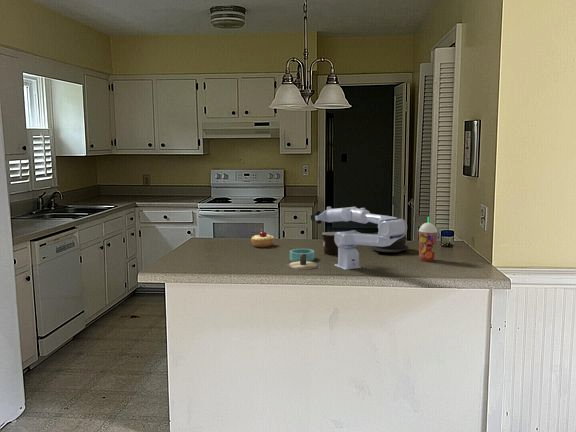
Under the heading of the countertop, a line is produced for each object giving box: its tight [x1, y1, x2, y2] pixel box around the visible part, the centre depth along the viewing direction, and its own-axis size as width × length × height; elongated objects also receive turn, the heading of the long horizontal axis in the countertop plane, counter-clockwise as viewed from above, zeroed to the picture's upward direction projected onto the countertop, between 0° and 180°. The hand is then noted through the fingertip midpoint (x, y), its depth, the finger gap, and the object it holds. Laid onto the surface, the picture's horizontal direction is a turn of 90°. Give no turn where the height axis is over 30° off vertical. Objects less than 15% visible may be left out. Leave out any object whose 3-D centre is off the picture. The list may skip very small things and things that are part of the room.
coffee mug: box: [321, 231, 338, 256], centre depth 265 cm, size 12×9×10 cm
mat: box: [285, 263, 323, 271], centre depth 238 cm, size 12×12×1 cm
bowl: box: [289, 248, 315, 262], centre depth 252 cm, size 11×11×4 cm
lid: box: [288, 254, 318, 270], centre depth 238 cm, size 12×12×5 cm
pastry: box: [250, 228, 275, 248], centre depth 285 cm, size 12×12×9 cm
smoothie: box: [417, 216, 438, 263], centre depth 248 cm, size 8×8×20 cm
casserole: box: [370, 232, 410, 254], centre depth 271 cm, size 25×19×8 cm
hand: (317, 216), depth 252 cm, fingers open, 7 cm apart
